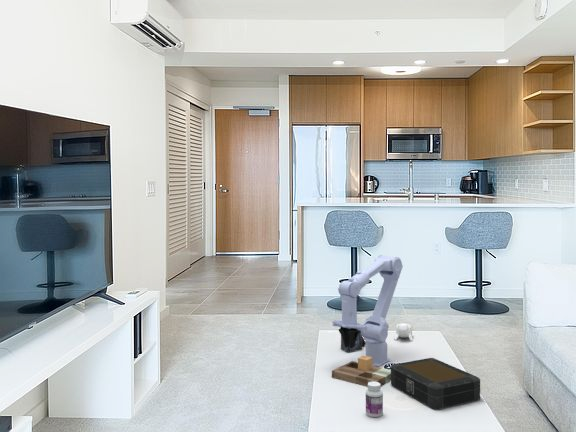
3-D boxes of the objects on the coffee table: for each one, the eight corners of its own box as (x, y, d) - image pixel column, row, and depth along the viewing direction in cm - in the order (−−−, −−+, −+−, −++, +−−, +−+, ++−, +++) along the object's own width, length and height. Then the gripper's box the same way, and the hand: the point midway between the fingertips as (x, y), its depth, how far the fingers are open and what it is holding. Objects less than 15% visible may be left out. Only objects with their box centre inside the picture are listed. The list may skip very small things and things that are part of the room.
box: (348, 353, 224) (348, 328, 223) (340, 349, 229) (340, 326, 228) (362, 349, 228) (362, 326, 227) (354, 346, 233) (354, 323, 232)
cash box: (387, 385, 186) (387, 364, 186) (432, 376, 194) (432, 356, 194) (433, 412, 163) (433, 388, 163) (482, 400, 172) (482, 377, 171)
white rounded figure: (395, 342, 250) (393, 338, 236) (395, 324, 253) (393, 319, 239) (413, 343, 248) (412, 339, 234) (413, 325, 250) (412, 320, 237)
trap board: (352, 367, 205) (352, 361, 205) (395, 377, 193) (395, 371, 193) (331, 377, 195) (331, 370, 195) (376, 388, 183) (376, 381, 182)
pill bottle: (363, 410, 164) (363, 380, 164) (380, 410, 165) (380, 380, 164) (367, 418, 159) (367, 387, 159) (384, 417, 159) (384, 386, 159)
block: (363, 365, 200) (363, 355, 199) (372, 367, 197) (372, 357, 197) (357, 368, 197) (357, 358, 196) (367, 370, 194) (367, 360, 194)
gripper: (327, 311, 202) (328, 346, 203) (359, 316, 193) (360, 352, 193) (338, 308, 207) (338, 341, 208) (369, 313, 198) (369, 348, 199)
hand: (349, 346), depth 201 cm, fingers closed
